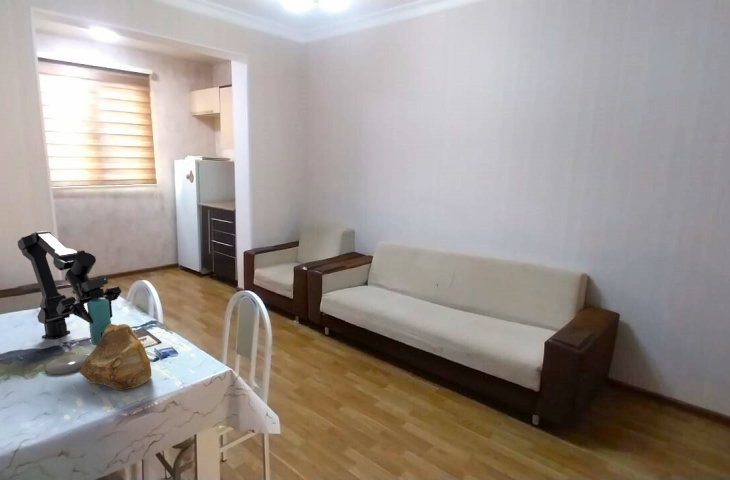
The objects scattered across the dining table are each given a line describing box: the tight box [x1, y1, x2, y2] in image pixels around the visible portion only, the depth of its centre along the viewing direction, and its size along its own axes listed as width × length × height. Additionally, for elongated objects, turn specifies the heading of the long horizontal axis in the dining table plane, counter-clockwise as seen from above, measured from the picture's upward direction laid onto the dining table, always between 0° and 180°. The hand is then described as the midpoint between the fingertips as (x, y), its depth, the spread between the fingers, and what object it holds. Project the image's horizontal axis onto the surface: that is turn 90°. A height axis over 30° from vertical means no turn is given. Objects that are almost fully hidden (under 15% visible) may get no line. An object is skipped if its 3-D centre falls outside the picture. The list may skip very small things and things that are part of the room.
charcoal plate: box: [45, 353, 90, 376], centre depth 136 cm, size 12×12×1 cm
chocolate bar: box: [132, 327, 162, 348], centre depth 157 cm, size 9×1×18 cm
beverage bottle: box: [86, 288, 113, 347], centre depth 141 cm, size 6×7×20 cm
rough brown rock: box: [79, 323, 152, 392], centre depth 126 cm, size 23×17×15 cm
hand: (101, 320), depth 140 cm, fingers closed on beverage bottle, 6 cm apart
